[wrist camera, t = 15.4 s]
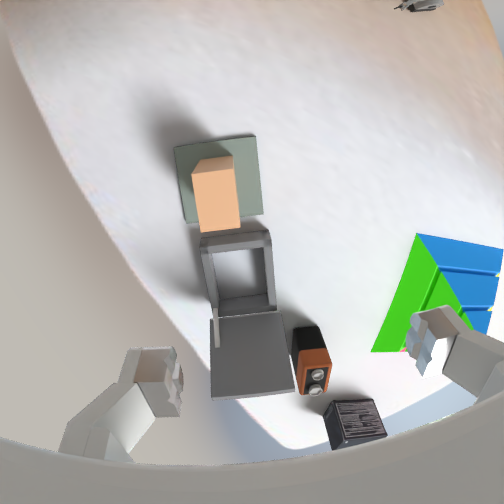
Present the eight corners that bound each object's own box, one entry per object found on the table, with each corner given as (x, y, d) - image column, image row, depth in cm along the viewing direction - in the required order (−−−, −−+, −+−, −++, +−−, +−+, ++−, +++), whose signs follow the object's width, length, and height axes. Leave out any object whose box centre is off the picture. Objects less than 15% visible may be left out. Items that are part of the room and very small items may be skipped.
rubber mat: (174, 147, 37) (173, 147, 36) (255, 136, 37) (255, 136, 37) (187, 222, 41) (186, 223, 41) (263, 212, 41) (263, 214, 41)
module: (200, 159, 37) (191, 174, 29) (232, 155, 37) (233, 168, 29) (206, 206, 40) (200, 232, 32) (238, 202, 40) (240, 227, 32)
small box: (321, 417, 62) (331, 455, 53) (331, 399, 60) (343, 439, 50) (362, 415, 64) (374, 450, 54) (374, 398, 61) (389, 434, 52)
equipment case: (197, 238, 42) (183, 302, 29) (272, 229, 43) (291, 290, 29) (215, 327, 49) (212, 402, 35) (279, 319, 49) (295, 393, 36)
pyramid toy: (503, 245, 47) (550, 280, 35) (457, 346, 58) (488, 389, 45) (412, 227, 44) (466, 272, 32) (365, 352, 55) (392, 409, 42)
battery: (290, 356, 53) (300, 400, 44) (292, 326, 50) (304, 371, 41) (315, 354, 53) (328, 397, 44) (319, 324, 50) (335, 367, 41)
